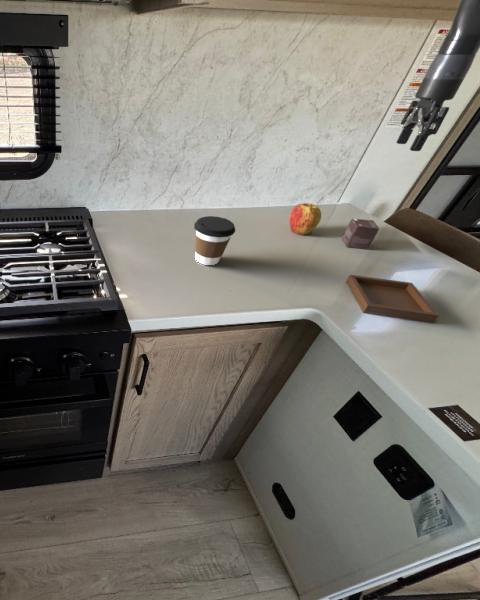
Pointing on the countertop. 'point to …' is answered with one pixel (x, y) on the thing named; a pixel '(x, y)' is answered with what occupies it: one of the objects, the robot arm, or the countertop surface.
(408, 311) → the brown wooden tray
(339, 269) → the countertop surface
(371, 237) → the box
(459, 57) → the robot arm
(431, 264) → the countertop surface
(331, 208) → the countertop surface
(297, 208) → the apple
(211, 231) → the coffee cup
